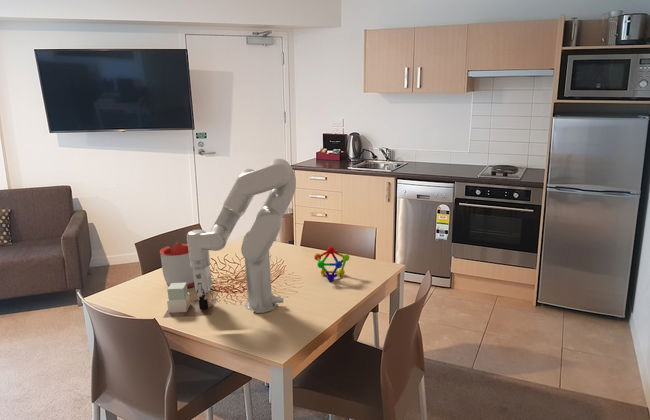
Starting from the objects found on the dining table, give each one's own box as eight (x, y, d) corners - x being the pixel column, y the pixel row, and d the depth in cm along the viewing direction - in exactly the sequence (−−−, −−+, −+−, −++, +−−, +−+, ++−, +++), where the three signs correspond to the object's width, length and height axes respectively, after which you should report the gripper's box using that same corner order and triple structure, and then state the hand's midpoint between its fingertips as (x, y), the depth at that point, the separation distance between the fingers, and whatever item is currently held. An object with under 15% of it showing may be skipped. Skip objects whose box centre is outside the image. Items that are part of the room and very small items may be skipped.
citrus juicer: (195, 275, 243) (191, 233, 238) (203, 287, 228) (199, 244, 223) (160, 281, 237) (155, 239, 232) (167, 295, 221) (161, 250, 216)
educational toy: (318, 287, 227) (313, 254, 223) (317, 276, 239) (312, 245, 236) (353, 282, 227) (349, 249, 223) (350, 271, 240) (346, 240, 236)
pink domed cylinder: (213, 302, 208) (211, 291, 207) (210, 308, 203) (209, 296, 202) (200, 303, 208) (198, 292, 207) (197, 309, 203) (196, 297, 202)
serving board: (217, 301, 213) (217, 298, 213) (211, 318, 199) (210, 315, 199) (173, 303, 213) (172, 300, 213) (163, 320, 198) (163, 317, 198)
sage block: (187, 293, 207) (186, 282, 206) (184, 299, 201) (183, 288, 200) (172, 293, 207) (171, 283, 206) (168, 300, 201) (167, 289, 200)
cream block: (190, 304, 209) (189, 292, 208) (186, 311, 202) (185, 299, 201) (172, 304, 209) (171, 293, 208) (168, 312, 202) (166, 300, 201)
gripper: (205, 269, 193) (211, 314, 197) (213, 254, 209) (218, 296, 214) (185, 270, 193) (191, 315, 197) (194, 255, 209) (200, 297, 214)
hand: (205, 305), depth 206 cm, fingers closed on pink domed cylinder, 5 cm apart
